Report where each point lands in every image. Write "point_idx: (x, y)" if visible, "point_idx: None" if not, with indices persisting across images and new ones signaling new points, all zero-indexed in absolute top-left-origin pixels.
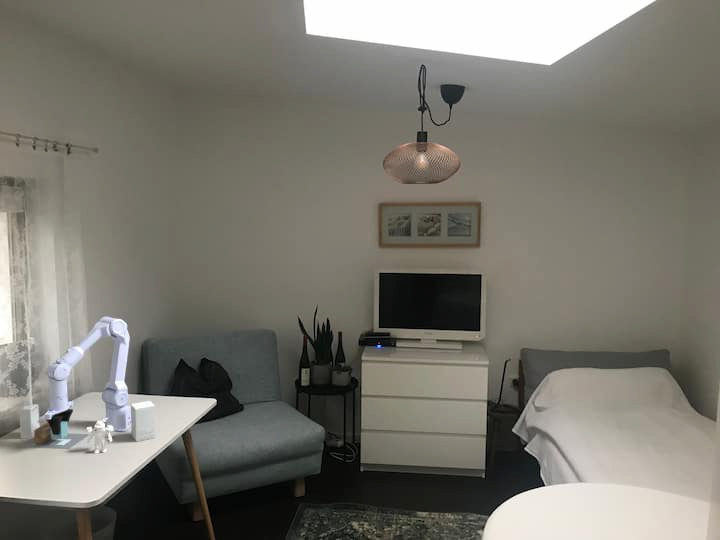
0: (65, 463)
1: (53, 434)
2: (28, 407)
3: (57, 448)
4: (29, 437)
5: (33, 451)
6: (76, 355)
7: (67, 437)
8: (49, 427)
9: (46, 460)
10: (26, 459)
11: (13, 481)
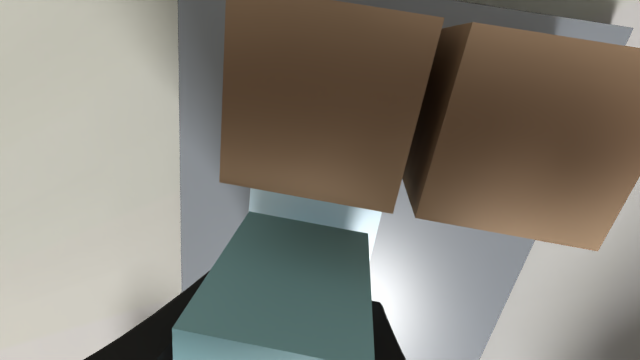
0: (37, 343)
1: (204, 276)
2: None
3: (181, 263)
4: None
5: (168, 64)
6: None
7: (417, 262)
8: (349, 199)
9: (42, 236)
10: (15, 87)
11: None
